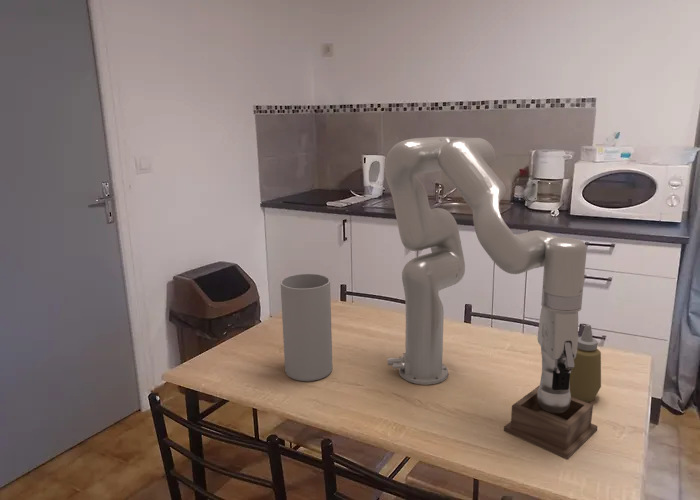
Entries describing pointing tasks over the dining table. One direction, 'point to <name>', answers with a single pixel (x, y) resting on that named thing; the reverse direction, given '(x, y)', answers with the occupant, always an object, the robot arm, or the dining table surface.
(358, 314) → the dining table surface
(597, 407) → the dining table surface
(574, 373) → the squeeze bottle
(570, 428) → the bottle caddy
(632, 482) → the dining table surface
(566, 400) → the plastic bottle
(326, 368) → the cylinder vase
